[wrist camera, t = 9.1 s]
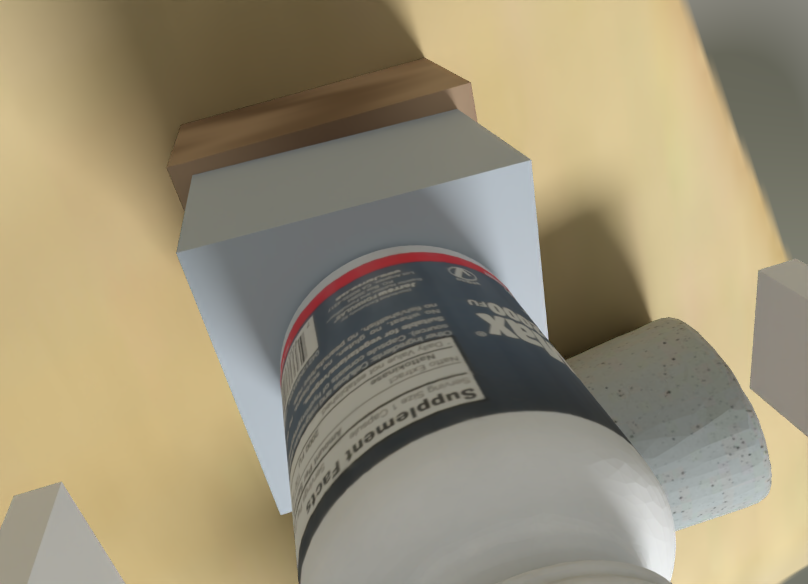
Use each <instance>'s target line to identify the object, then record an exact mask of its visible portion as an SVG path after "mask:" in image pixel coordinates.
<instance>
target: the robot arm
mask: <svg viewBox="0 0 808 584" xmlns="http://www.w3.org/2000/svg"><path fill="white" fill-rule="evenodd" d="M750 389H751V390H753V391H754V392H755V393H756V394H757V395H759V396H760V397H761V398H762V399H763V400H764V401H766V402H767V403H768V404H769V405H770V406H772V407H773V408H774V409H775V410H776V411H778V412H779V413H780V414H781V415H782V416H784V417H785V418H786V419H787V420H788V421H790V422H791V423H792V424H793V425H794V426H795V427H797V428H798V429H799V430H800V431H801V432H803V433H804V434H805V435H806V436H807V437H808V265H806V264H804V263H802V262H801V261H799V260H797V259H794V260H790V261H787V262H784V263H781V264H777V265H774V266H771V267H767V268H764V269H761V270H758V284H757V297H756V310H755V324H754V337H753V351H752V364H751V377H750ZM0 584H125V582H124V581H123V579H122V578H121V576H120V574H119V573H118V571H117V570H116V568H115V566H114V565H113V563H112V562H111V560H110V558H109V557H108V555H107V554H106V552H105V550H104V549H103V547H102V546H101V544H100V542H99V541H98V539H97V538H96V536H95V534H94V533H93V531H92V530H91V528H90V526H89V525H88V523H87V522H86V520H85V518H84V517H83V515H82V514H81V512H80V510H79V509H78V507H77V506H76V504H75V502H74V501H73V499H72V498H71V496H70V494H69V493H68V491H67V490H66V488H65V486H64V485H63V483H62V482H59V483H55V484H52V485H49V486H46V487H42V488H39V489H36V490H32V491H29V492H26V493H22V494H19V495H16V496H14V497H13V499H12V502H11V504H10V507H9V509H8V512H7V514H6V516H5V519H4V521H3V524H2V526H1V528H0Z"/></svg>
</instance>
